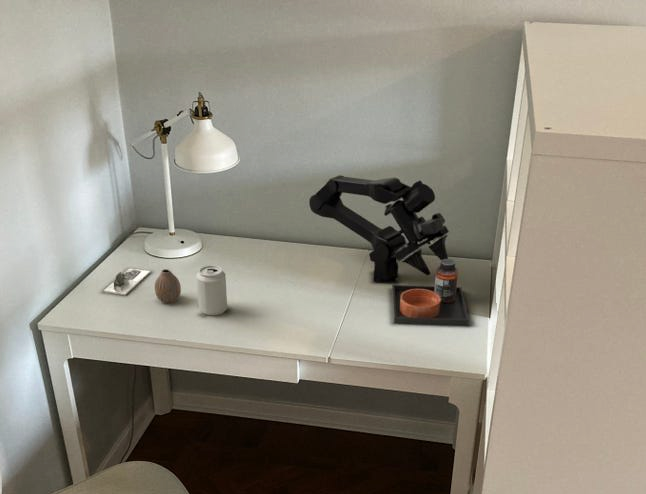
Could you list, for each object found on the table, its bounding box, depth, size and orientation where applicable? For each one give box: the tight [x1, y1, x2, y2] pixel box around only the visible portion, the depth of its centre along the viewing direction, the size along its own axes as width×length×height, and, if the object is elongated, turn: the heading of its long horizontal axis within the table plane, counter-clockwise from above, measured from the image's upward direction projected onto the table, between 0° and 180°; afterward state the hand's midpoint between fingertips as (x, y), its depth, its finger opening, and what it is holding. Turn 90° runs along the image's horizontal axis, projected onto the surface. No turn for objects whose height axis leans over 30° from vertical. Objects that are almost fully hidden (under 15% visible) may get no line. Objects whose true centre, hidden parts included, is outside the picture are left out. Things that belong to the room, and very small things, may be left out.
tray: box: [391, 284, 470, 327], centre depth 215 cm, size 19×19×2 cm
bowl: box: [400, 289, 441, 318], centre depth 212 cm, size 11×11×4 cm
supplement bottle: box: [434, 258, 459, 303], centre depth 216 cm, size 6×6×11 cm
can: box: [196, 264, 228, 317], centre depth 208 cm, size 8×8×12 cm
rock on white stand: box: [103, 267, 151, 296], centre depth 223 cm, size 15×7×4 cm, turn 165°
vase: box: [154, 268, 182, 304], centre depth 213 cm, size 7×7×9 cm
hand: (438, 269), depth 216 cm, fingers open, 9 cm apart
